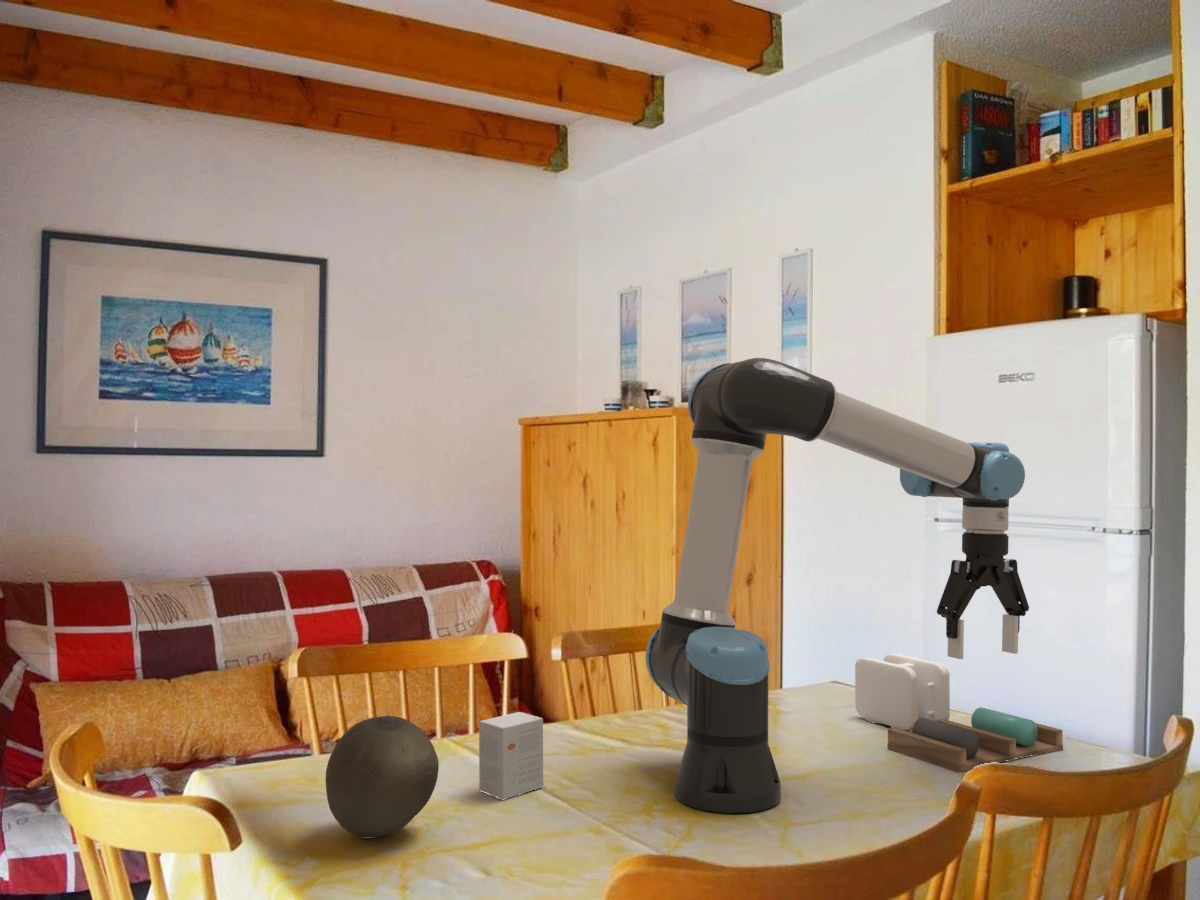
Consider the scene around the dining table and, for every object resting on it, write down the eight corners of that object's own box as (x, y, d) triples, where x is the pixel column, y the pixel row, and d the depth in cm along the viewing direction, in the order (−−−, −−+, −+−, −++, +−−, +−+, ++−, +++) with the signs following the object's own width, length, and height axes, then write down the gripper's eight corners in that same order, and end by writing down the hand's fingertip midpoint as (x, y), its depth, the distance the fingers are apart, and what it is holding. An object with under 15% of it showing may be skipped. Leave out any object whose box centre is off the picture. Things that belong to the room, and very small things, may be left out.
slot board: (958, 772, 158) (958, 750, 158) (887, 748, 171) (887, 728, 171) (1062, 749, 170) (1062, 729, 171) (989, 729, 184) (989, 710, 184)
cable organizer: (851, 717, 193) (850, 655, 193) (891, 710, 198) (891, 650, 198) (911, 735, 180) (910, 669, 180) (953, 728, 185) (952, 663, 185)
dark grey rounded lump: (335, 862, 123) (335, 738, 123) (318, 824, 136) (318, 711, 136) (449, 845, 128) (449, 725, 129) (422, 810, 141) (422, 701, 142)
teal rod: (967, 720, 177) (980, 702, 178) (978, 737, 178) (992, 719, 180) (1016, 734, 168) (1029, 714, 170) (1027, 752, 169) (1041, 732, 171)
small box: (519, 780, 155) (519, 710, 155) (544, 788, 151) (544, 717, 151) (477, 792, 149) (477, 720, 149) (502, 801, 145) (502, 727, 145)
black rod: (929, 744, 172) (910, 744, 170) (931, 717, 172) (913, 717, 170) (977, 759, 163) (958, 759, 161) (980, 731, 164) (961, 731, 162)
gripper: (951, 533, 167) (948, 663, 166) (1051, 532, 179) (1049, 653, 179) (916, 530, 173) (914, 656, 173) (1015, 529, 186) (1013, 646, 185)
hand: (983, 655), depth 176 cm, fingers open, 13 cm apart
